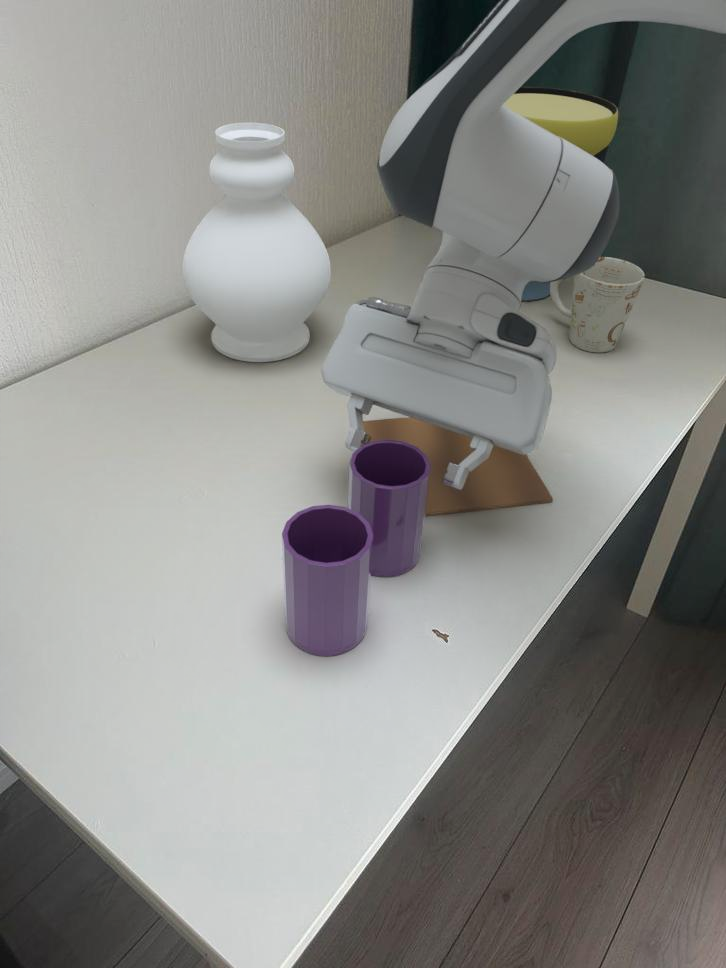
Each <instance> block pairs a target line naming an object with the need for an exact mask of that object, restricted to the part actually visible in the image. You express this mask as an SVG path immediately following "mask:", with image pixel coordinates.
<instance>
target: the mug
mask: <svg viewBox="0 0 726 968" xmlns="http://www.w3.org/2000/svg"><path fill="white" fill-rule="evenodd" d="M571 278H574V280H573V292H572V304H571V310H570V309H568V308H567V307H565V305H564V304H563V302H562V301H561V298H560V294H559V286H560V283H561V281H562V280H558V281H554V282H551V283H550V295H549V296H550V298H551V301H552V303H553V304H554V306H555V307H556V310H558V312H559V313H560V314H562V315H563V316H565V317H568V318H570V327H569V341H570V343H571V344H572V345H573V346H574V347H576V348H578V349H580V350H583V351H586V352H589V353H608V352H610V351H613V350H614V349H615V348H616V346H617V343H618V341H619V339H620V337H621V335H622V332H623V331H624V327H625V325H626V323H627V321H628V318H629V316H630V313H631V311H632V309H633V307H634V304H635V303H636V299H637V297H638V295H639V293H640V291H641V288H642V286H643V283H644V280H645V272H644V271H643V270H642V268H640V267H639V266H638V265H636V264H635V263H632V262H630V261H627V260H624V259H620V258H615V257H608V256H600V258H599V259H598V261H597V262H596V263H595V264H594V265H593V266H592V267H591V268H590V269H588V270H586V271H584V272H582V273H580V274H577V275H575V276H572V277H571Z"/></svg>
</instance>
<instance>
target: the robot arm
mask: <svg viewBox="0 0 726 968" xmlns="http://www.w3.org/2000/svg"><path fill="white" fill-rule="evenodd" d="M617 22H619V23H620V22H649V23H661V24H670V25H675V26H682V27H683V26H684V27H689V28H695V29H700V30H704V31H709V32H713V33H717V34H723V35H726V0H499V1H498V2H496V4H495V5H494V6H493V7H492V8H491V9H490V11H489V12H488V13H487V14H486V16H485V17H484V18H483V19H482V20H481V21H480V23H478V24H477V26H476V27H475V28H474V30H473V31H472V32H471V33H470V34H469V35H468V37H467V38H466V39H465V40H464V41H463V43H462V44H461V45H460V46H459V47H458V48H457V49H456V50H455V52H453V54H451V56H450V57H449V58H448V59H447V60H446V61H445V62H444V63H443V64H441V66H440V67H439V68H437V69H436V70H435V72H433V73H432V74H431V75H430V76H429V77H428V78H427V79H425V81H424V82H423V83H422V84H421V85H420V86H418V87H419V88H417V89H416V90H415V92H414V93H412V94H411V95H410V97H409V98H408V99H407V100H406V101H405V102H403V104H402V105H401V107H400V108H399V109H398V111H397V112H396V114H395V115H394V117H393V119H392V121H391V122H390V125H389V126H388V128H387V130H386V133H385V135H384V137H383V141H382V142H381V144H382V145H381V147H380V153H379V156H378V159H377V163H376V168H377V172H378V176H379V178H380V182H381V186H382V187H383V191H384V192H385V195H386V198H387V200H388V201H389V203H390V205H391V208H392V209H393V210H394V213H395V214H397V215H399V216H401V217H404V218H406V219H409V220H411V221H414V222H417V223H419V224H421V225H423V226H426V227H428V228H432V227H433V228H435V229H437V230H439V231H441V232H442V234H441V235H442V237H441V242H440V247H439V249H438V251H437V253H436V254H435V256H434V258H432V260H431V261H430V262H429V264H428V266H427V267H426V269H425V272H424V274H423V277H422V279H421V282H420V285H419V287H418V290H417V292H416V295H415V297H414V300H413V302H412V305H411V306H409V305H404V304H401V303H397V302H390V301H386V300H384V299H382V298H380V297H375V296H369V297H367V299H361V300H358V301H356V302H354V303H353V304H351V305H350V307H349V308H348V310H347V312H346V315H345V318H344V319H343V323H342V327H341V329H340V331H339V334H338V335H337V336H336V338H335V340H334V342H333V344H332V346H331V348H330V349H329V351H328V353H327V355H326V357H325V360H324V361H323V364H322V366H321V369H320V370H321V377H322V380H323V383H324V384H325V385H326V387H328V388H329V389H331V390H332V391H333V392H335V393H336V394H337V393H338V394H340V395H343V396H346V397H348V398H349V400H348V402H347V405H346V406H347V414H348V420H349V427H350V430H349V433H348V435H347V437H346V440H345V443H344V448H346V449H348V450H350V451H352V452H355V451H356V450H357V449H358V448H359V447H361V446H362V445H365V444H367V443H370V441H371V438H372V437H371V436H370V435H368V434H367V433H365V432H364V426H363V421H364V417H363V415H364V416H365V415H366V416H369V415H370V413H371V410H372V408H373V406H376V407H379V408H381V409H385V410H387V411H390V412H394V413H396V414H400V415H402V416H405V417H411V418H414V419H417V420H420V421H423V422H426V423H429V424H432V425H435V426H438V427H441V428H444V429H447V430H450V431H453V432H456V433H459V434H462V435H465V436H468V437H471V438H473V439H472V441H471V444H470V447H471V448H472V449H473V451H474V452H472V453H471V454H470V455H469V456H468V457H467V458H465V459H464V460H463V461H462V462H461V463H460V464H459V465H456V464H453V463H450V462H449V465H448V467H447V473H446V474H445V475H444V477H443V483H445V484H446V485H449V486H451V487H454V488H456V489H459V490H461V489H462V488H463V486H464V484H465V481H466V478H467V476H468V473H469V471H470V472H471V471H472V470H474V469H475V468H476V467H477V466H479V465H480V464H481V463H482V462H484V461H485V460H486V459H487V458H489V455H490V453H491V450H492V448H493V445H494V446H497V447H500V448H503V449H506V450H509V451H512V452H515V453H518V454H521V455H527V456H528V455H529V454H531V453H533V452H534V451H536V450H537V449H538V448H539V446H540V443H541V441H542V438H543V436H544V435H543V434H544V431H545V429H546V425H547V422H548V418H549V413H550V409H551V404H552V398H553V389H552V385H551V380H550V377H549V375H550V374H551V373H552V371H553V370H554V369H555V365H556V363H557V358H558V357H557V356H558V355H557V354H558V353H557V348H556V343H555V342H554V339H553V338H552V336H551V334H550V331H548V330H547V329H546V328H545V327H543V326H542V325H541V324H539V323H537V322H536V321H534V320H533V319H531V318H530V317H528V316H527V315H525V314H523V313H522V312H521V311H519V310H520V308H521V305H522V301H521V299H522V293H523V290H524V287H525V285H526V284H527V283H528V282H529V281H538V282H539V283H549V282H554V281H558V280H561V281H562V280H566V279H568V278H573V277H572V276H575V275H577V274H580V273H582V272H584V271H586V270H588V269H590V268H591V267H592V266H593V265H594V264H595V263H596V262H597V261H598V259H599V258H600V257H602V255H603V253H604V252H605V249H606V247H607V245H608V243H609V241H610V239H611V236H612V235H613V232H614V229H615V227H616V224H617V222H618V218H619V214H620V190H619V183H618V179H617V177H616V174H615V172H614V170H613V169H612V168H609V167H608V165H606V164H605V163H604V162H603V161H601V160H600V159H598V158H597V157H595V155H594V156H592V155H590V154H589V153H587V152H585V151H584V150H582V149H580V148H579V147H577V146H575V145H573V144H572V143H570V142H568V141H566V140H565V139H563V138H561V137H559V136H556V135H554V134H552V133H551V132H549V131H547V130H545V129H544V128H542V127H540V126H538V125H537V124H535V123H533V122H532V121H530V120H528V119H526V118H525V117H523V116H521V115H519V114H518V113H516V112H514V111H513V110H511V109H509V108H507V107H506V106H504V105H503V104H504V103H505V102H506V101H507V100H508V99H509V98H510V97H511V96H512V95H513V94H514V93H515V92H516V91H517V90H518V89H519V88H520V87H523V85H524V84H525V83H526V82H527V81H528V80H529V79H530V78H531V77H532V76H534V74H535V73H536V72H537V71H538V70H539V69H540V68H541V67H542V66H543V65H544V64H545V63H546V62H547V61H548V60H549V59H550V58H551V57H552V56H553V55H554V54H555V53H556V52H557V51H558V50H559V49H560V48H561V47H562V46H563V45H564V44H565V43H566V42H567V41H568V40H570V39H571V38H572V37H573V36H576V35H577V34H578V33H581V32H583V31H585V30H587V29H589V28H593V27H595V26H596V27H597V26H599V25H603V24H604V25H605V24H608V23H617ZM365 305H366V306H365Z"/></svg>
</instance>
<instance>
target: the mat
mask: <svg viewBox="0 0 726 968" xmlns="http://www.w3.org/2000/svg"><path fill="white" fill-rule="evenodd" d="M363 426H364V432H365V433H367V434H368V435H370V436H371V437H372V438H371V441H370V442H373V441H380V440H395V441H402V442H406V443H408V444H411V445H413V446H416V447H418V448H419V449H420V450H421V451H422V452H424V453H425V454H426V455H427V457H428V459H429V462H430V464H431V468H430V477H429V485H428V494H427V502H426V511H425V517H426V516H435V515H436V516H437V515H445V514H454V513H463V512H474V511H481V510H492V509H501V508H509V507H510V508H511V507H520V506H528V505H529V506H530V505H537V504H547V503H553V501H554V498H553V496H552V495H551V493H550V492H549V490H548V488H547V486H546V485H545V483H544V481H543V480H542V478H541V476H540V475H539V473H538V471H537V470H536V469H535V466H534V465H533V463H532V461H531V460H530V458H529V457H528V454H527V455H521V454H518V453H515V452H512V451H509V450H506V449H503V448H500V447H497V446H494V445H493V448H492V450H491V453H490V455H489V458H487V459H486V460H485V461H484V462H482V463H481V464H480V465H479V466H477V467H476V468H475V469H474V470H472V471H471V472H470V471H469V473H468V476H467V478H466V481H465V484H464V486H463V488H462V489H461V490H459V489H456V488H454V487H451V486H449V485H446V484H445V483H443V477H444V475H445V474H446V473H447V467H448V465H449V462H450V463H453V464H456V465H459V464H460V463H461V462H462V461H463V460H464V459H465V458H467V457H468V456H469V455H470V454H471V453H472V452H474V451H473V449H472V448H471V447H470V444H471V441H472V439H473V438H471V437H468V436H465V435H462V434H459V433H456V432H453V431H450V430H447V429H444V428H441V427H438V426H435V425H432V424H429V423H426V422H423V421H420V420H417V419H414V418H411V417H408V416H405V417H395V418H393V417H392V418H383V419H372V420H371V419H370V420H363Z"/></svg>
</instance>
